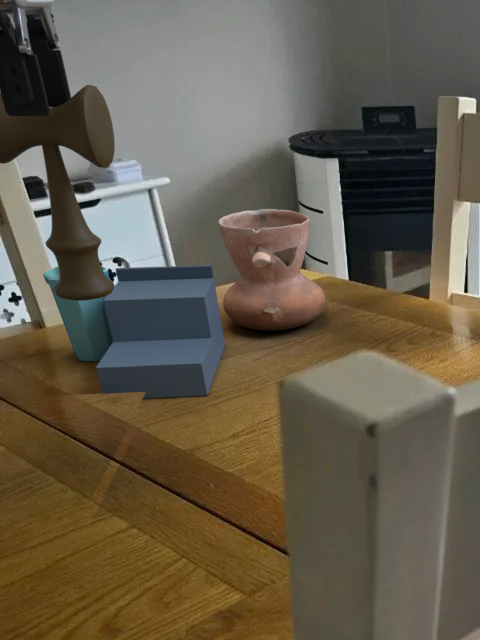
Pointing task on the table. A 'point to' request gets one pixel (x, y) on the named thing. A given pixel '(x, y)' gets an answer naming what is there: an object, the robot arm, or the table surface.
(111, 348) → the step rack
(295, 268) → the ceramic jug
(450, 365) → the table surface
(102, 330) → the cup
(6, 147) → the kendama
